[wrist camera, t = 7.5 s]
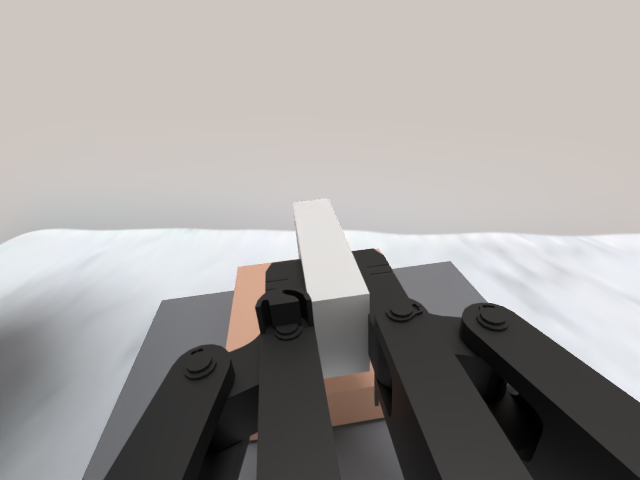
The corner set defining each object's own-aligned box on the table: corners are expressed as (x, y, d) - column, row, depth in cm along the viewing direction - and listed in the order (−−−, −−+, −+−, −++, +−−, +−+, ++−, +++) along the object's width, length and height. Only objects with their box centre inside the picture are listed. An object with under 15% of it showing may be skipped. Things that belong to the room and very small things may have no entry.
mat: (21, 639, 10) (12, 633, 9) (164, 306, 23) (161, 300, 23) (659, 507, 11) (665, 499, 11) (449, 266, 24) (450, 261, 24)
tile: (216, 412, 12) (238, 267, 21) (228, 449, 14) (244, 296, 22) (451, 373, 13) (378, 248, 22) (444, 411, 14) (378, 278, 23)
